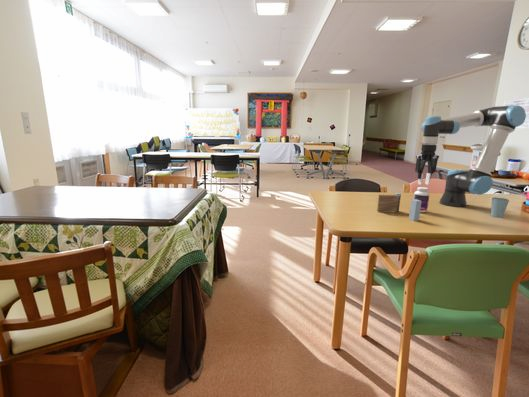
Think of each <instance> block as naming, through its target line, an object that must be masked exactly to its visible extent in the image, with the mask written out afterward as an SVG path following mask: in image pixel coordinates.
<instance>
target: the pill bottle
mask: <svg viewBox="0 0 529 397" xmlns="http://www.w3.org/2000/svg"><path fill="white" fill-rule="evenodd" d="M416 189H417V190H416V191H414V193H413V199H417V200H420V201H422V202H421V208H420V214H421V213H427V212H428V207H429V201H430V193H429V191H428V190H429V188H428V187H425V186H418V187H417V188H416Z"/></svg>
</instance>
